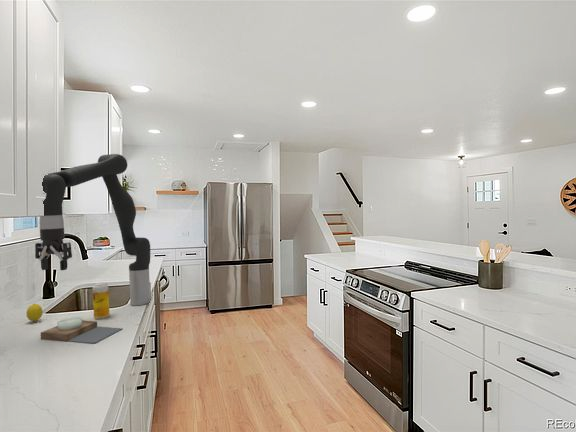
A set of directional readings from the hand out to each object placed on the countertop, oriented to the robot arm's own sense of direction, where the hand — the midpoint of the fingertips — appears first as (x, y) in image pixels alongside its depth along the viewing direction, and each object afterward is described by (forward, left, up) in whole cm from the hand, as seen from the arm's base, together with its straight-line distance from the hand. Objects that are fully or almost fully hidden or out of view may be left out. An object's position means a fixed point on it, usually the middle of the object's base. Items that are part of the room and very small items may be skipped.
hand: (54, 269), depth 126 cm
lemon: (-11, -24, -26) cm, 37 cm away
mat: (-3, +15, -25) cm, 30 cm away
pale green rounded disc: (-3, +3, -23) cm, 23 cm away
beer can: (-21, +1, -26) cm, 33 cm away
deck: (-3, +3, -25) cm, 26 cm away
